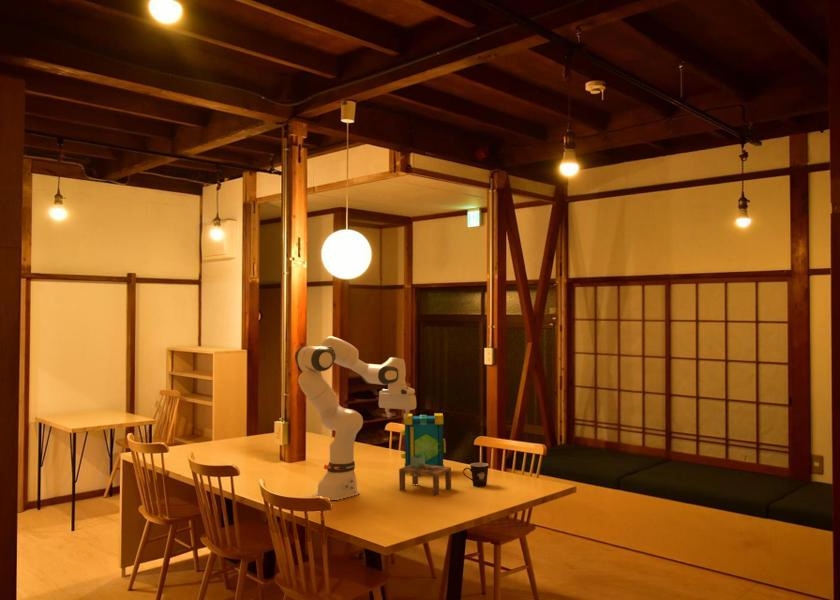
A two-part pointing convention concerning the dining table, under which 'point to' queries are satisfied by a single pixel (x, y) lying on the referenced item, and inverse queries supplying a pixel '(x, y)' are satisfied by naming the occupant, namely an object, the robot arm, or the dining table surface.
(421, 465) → the peg
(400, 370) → the robot arm
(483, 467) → the coffee mug
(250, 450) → the dining table surface
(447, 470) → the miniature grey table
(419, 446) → the decorative book
